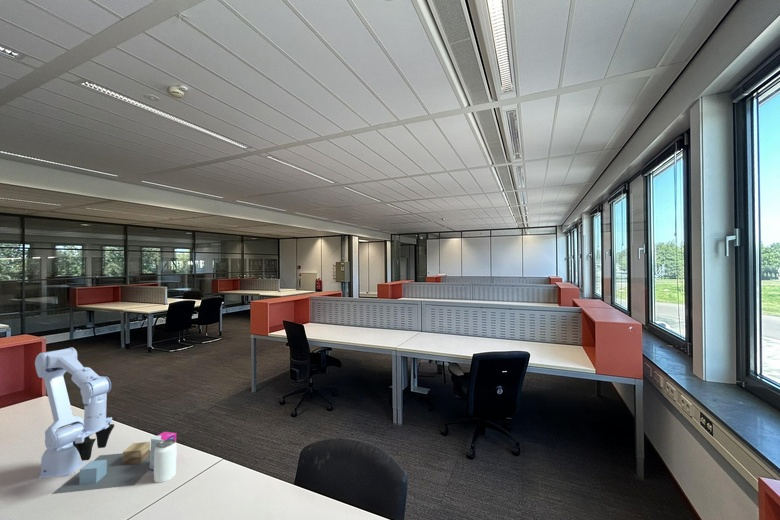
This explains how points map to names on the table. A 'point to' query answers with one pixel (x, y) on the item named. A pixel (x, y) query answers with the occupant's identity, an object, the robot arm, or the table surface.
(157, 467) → the can
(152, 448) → the supplement box
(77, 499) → the table surface
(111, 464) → the mat
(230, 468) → the table surface
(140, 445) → the slab upper
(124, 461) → the slab lower
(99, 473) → the cube
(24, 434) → the table surface
